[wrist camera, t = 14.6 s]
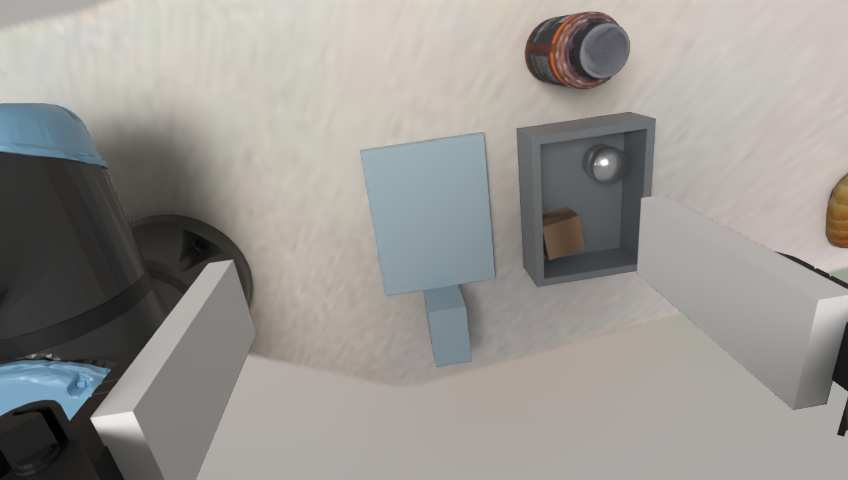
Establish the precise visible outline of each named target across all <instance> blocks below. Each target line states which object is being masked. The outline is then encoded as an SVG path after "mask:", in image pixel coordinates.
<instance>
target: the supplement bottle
mask: <svg viewBox="0 0 848 480" xmlns="http://www.w3.org/2000/svg"><path fill="white" fill-rule="evenodd" d="M629 51H630V42H629V38H628V35H627V34H626V32H625V31H624V30H623V29H622V27H620V26H619V25H618V24H617V22H616V21H615V20H614V19H613V18H611V17H610V16H608V15H606V14H604V13H600V12H584V13H577V14H572V15H566V16H560V17H555V18H551V19H548V20H546V21H544V22H542V23H541V24H539V25H538V26H537V27H536V28H535V29H534V30H533V32H532V33H531V35H530V36H529V39H528V41H527V44H526V50H525V58H526V63H527V66H528V68H529V70H530V71H531V73H532V74H533V75H534V76H535V77H536V78H538V79H539V80H541V81H543V82H546V83H551V84H556V85H562V86H567V87H573V88H580V89H589V88H593V87H596V86H599V85H601V84H603V83H605V82H606V81H607V80H609V79H610V78H611V77H612V76H613V75H615V74H616V73H617V72H619V71H620V70H621V69H622V67H623V66H624V65H625V63H626V61H627V59H628V56H629Z"/></svg>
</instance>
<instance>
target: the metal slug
mask: <svg viewBox="0 0 848 480" xmlns="http://www.w3.org/2000/svg"><path fill="white" fill-rule="evenodd" d="M582 166H583V169H584V171H585V172H586V173H587V174H588V175H589V176H591V177H593V178H594V179H596V180H598V181H599V182H601V183H603V184H614V183H617V182H618V181H620V180H621V179H622V178H623V177H624V176H625V175H626V173H627V171H628V168H629V160H628V157H627V155H626V154H625V153H624V152H623V151H621V150H619V149H616V148H614V147H611V146H609V145H607V144H596V145H593V146H592V147H590V148H589V149H588V150H587V151H586V152H585V154H584V156H583V160H582Z"/></svg>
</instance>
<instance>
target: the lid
mask: <svg viewBox="0 0 848 480" xmlns="http://www.w3.org/2000/svg"><path fill="white" fill-rule="evenodd" d="M360 154H361V160H362V165H363V171H364V176H365V182H366V187H367V193H368V198H369V204H370V209H371V215H372V220H373V226H374V231H375V237H376V242H377V248H378V253H379V259H380V264H381V270H382V275H383V281H384V286H385V292H386V296H389V295H396V294H402V293H408V292H414V291H421V290H424V297H425V304H426V311H427V318H428V325H429V332H430V338H431V343H432V349H433V354H434V359H435V364H436V367H440V366H446V365H452V364H458V363H464V362H470V361H472V358H471V349H470V340H469V330H468V321H467V312H466V305H465V303H464V300H463V297H462V294H461V291H460V288H459V285H458V284H465V283H471V282H477V281H483V280H490V279H495V270H494V257H493V245H492V232H491V219H490V206H489V194H488V181H487V168H486V156H485V143H484V133H482V132H479V133H472V134H466V135H459V136H452V137H445V138H438V139H432V140H425V141H418V142H411V143H405V144H398V145H391V146H384V147H377V148H371V149H364V150H360Z"/></svg>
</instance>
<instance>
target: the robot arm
mask: <svg viewBox="0 0 848 480" xmlns="http://www.w3.org/2000/svg"><path fill="white" fill-rule="evenodd" d="M106 169H108V165H107V163H106V161H105V160H103V159H101V158H100V156H99V154H98V151H97V149H96V147H95V145H94V143H93V141H92V139H91V137H90V135H89V133H88V131H87V129H86V126H85V125H84V123H83V122H82V120H81V119H80V118H79V117H78V116H77V115H76V114H75V113H73V112H72V111H70V110H68V109H66V108H64V107H61V106H58V105H53V104H45V103H2V104H0V480H196V478H197V476H198V473H199V471H200V468H201V466H202V464H203V461H204V459H205V456H206V454H207V451H208V449H209V446H210V444H211V442H212V439H213V437H214V434H215V432H216V430H217V427H218V425H219V422H220V420H221V418H222V415H223V413H224V410H225V408H226V405H227V403H228V401H229V398H230V396H231V393H232V391H233V388H234V386H235V384H236V381H237V379H238V376H239V374H240V371H241V369H242V367H243V364H244V362H245V359H246V357H247V355H248V352H249V350H250V347H251V345H252V343H253V340H254V338H255V335H256V331H255V328H254V325H253V322H252V318H251V315H250V312H249V309H248V304H249V301H250V297H251V291H252V281H251V274H250V271H249V268H248V265H247V263H246V260H245V259H244V257H243V255H242V253H241V252H240V251H239V249H238V248H237V247H236V246H235V244H234V243H233V242H232V241H231V240H230V239H229V238H227V237H226V236H225V235H224V234H223V233H221V232H220V231H218V230H217V229H215V228H213V227H212V226H210V225H208V224H206V223H203V222H201V221H198V220H195V219H192V218H188V217H183V216H174V215H161V216H154V217H149V218H145V219H142V220H139V221H137V222H135V223H133V224H131V225H129V223H128V220H127V218H126V216H125V213H124V211H123V208H122V206H121V204H120V201H119V199H118V197H117V194H116V192H115V189H114V187H113V185H112V182H111V180H110V178H109V175H108V173H107V171H106ZM637 274H638V275H639V276H640V277H641V278H643V279H644V280H645V281H646V282H647V283H648V284H649V285H651V286H652V287H653V288H654V289H655V290H656V291H657V292H659V293H660V294H661V295H662V296H663V297H664V298H665V299H667V300H668V301H669V302H670V303H671V304H672V305H673V306H675V307H676V308H677V309H678V310H679V311H680V312H681V313H683V314H684V315H685V316H686V317H687V318H688V319H690V320H691V321H692V322H693V323H694V324H695V325H696V326H697V327H699V328H700V329H701V330H702V331H703V332H704V333H705V334H707V335H708V336H709V337H710V338H711V339H712V340H713V341H715V342H716V343H717V344H718V345H719V346H720V347H721V348H723V349H724V350H725V351H726V352H727V353H728V354H730V355H731V356H732V357H733V358H734V359H735V360H736V361H738V362H739V363H740V364H741V365H742V366H743V367H744V368H746V369H747V370H748V371H749V372H750V373H751V374H753V375H754V376H755V377H756V378H757V379H758V380H759V381H761V382H762V383H763V384H764V385H765V386H766V387H767V388H769V389H770V390H771V391H772V392H773V393H774V394H775V395H776V396H778V397H779V398H780V399H781V400H782V401H783V402H785V403H786V404H787V405H788V406H789V407H790V408H791V409H792V410H795V409H801V408H807V407H813V406H819V405H824V404H827V401H828V397H829V393H830V390H831V386H832V382H833V381H834V382H836V383H837V384H839V385H840V386H841V387H843V388H844V389H845V390H847V391H848V284H847V283H845V282H843V281H841V280H839V279H837V278H835V277H833V276H831V277H830V276H829V274H828V273H826V272H824V271H822V270H820V269H818V268H817V269H814V266H812V265H810V264H808V263H806V262H804V261H802V260H800V259H798V258H796V257H793V256H789V255H786V254H783V253H779V252H776V251H773V250H771V249H769V248H767V247H765V246H763V245H761V244H759V243H757V242H755V241H753V240H751V239H749V238H748V237H746V236H744V235H742V234H740V233H738V232H736V231H734V230H732V229H730V228H728V227H726V226H724V225H722V224H720V223H719V222H717V221H715V220H713V219H711V218H709V217H707V216H705V215H703V214H701V213H699V212H697V211H695V210H693V209H691V208H690V207H688V206H686V205H684V204H682V203H680V202H678V201H676V200H674V199H672V198H670V197H668V196H666V195H657V196H651V197H644V198H641V212H640V229H639V246H638V263H637ZM846 430H848V399H847V402H846V406H845V409H844V413H843V416H842V420H841V423H840V426H839V430H838V433H837V435H841V436H844V435H845V432H846Z"/></svg>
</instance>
